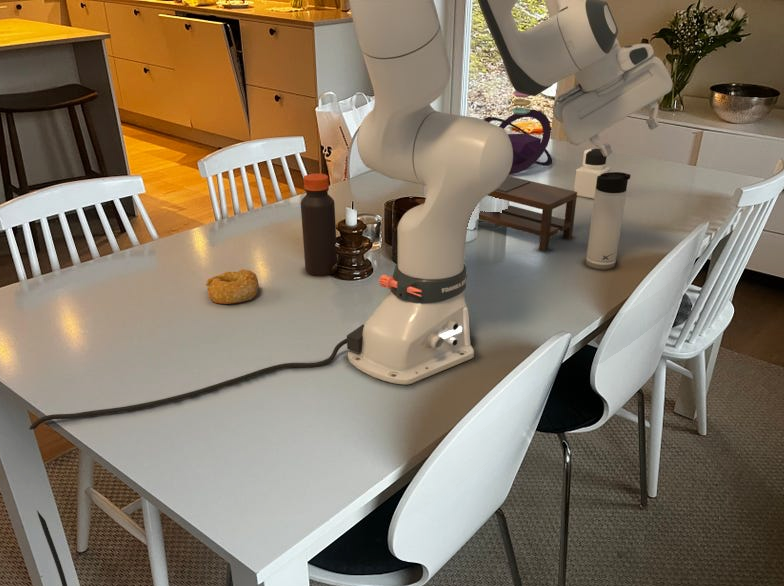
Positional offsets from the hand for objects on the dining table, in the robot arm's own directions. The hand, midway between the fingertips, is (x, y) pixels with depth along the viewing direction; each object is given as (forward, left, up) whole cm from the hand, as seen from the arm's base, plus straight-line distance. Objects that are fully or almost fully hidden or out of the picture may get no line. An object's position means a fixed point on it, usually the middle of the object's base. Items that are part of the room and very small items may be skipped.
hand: (631, 141), depth 136 cm
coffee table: (+13, +31, -29) cm, 45 cm away
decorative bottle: (+60, +63, -30) cm, 92 cm away
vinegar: (-33, +50, -30) cm, 67 cm away
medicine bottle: (+51, +33, -30) cm, 68 cm away
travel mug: (+9, +7, -30) cm, 32 cm away
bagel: (-53, +54, -30) cm, 81 cm away
